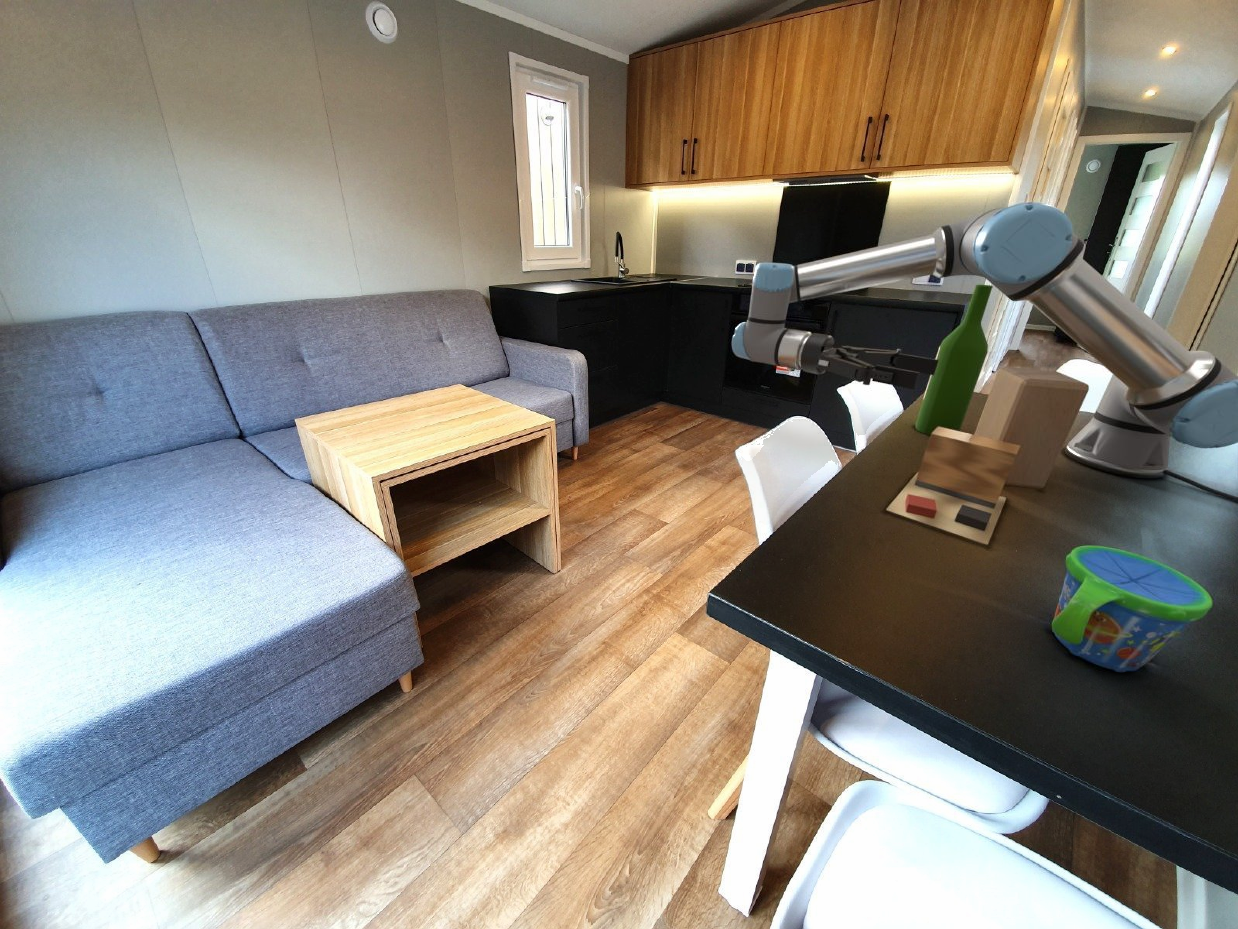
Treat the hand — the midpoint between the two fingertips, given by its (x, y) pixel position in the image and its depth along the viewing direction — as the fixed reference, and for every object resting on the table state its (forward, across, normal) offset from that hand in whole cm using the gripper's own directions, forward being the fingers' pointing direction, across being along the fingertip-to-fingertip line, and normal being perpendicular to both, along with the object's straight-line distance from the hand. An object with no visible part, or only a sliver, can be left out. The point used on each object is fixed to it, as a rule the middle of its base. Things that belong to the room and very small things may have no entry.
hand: (927, 373), depth 84 cm
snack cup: (+29, +31, -20) cm, 47 cm away
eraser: (+10, 0, -19) cm, 22 cm away
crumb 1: (+7, +12, -19) cm, 24 cm away
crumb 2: (+14, +10, -19) cm, 26 cm away
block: (+15, -15, -20) cm, 29 cm away
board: (+10, +6, -20) cm, 23 cm away
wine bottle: (0, -34, -20) cm, 39 cm away
